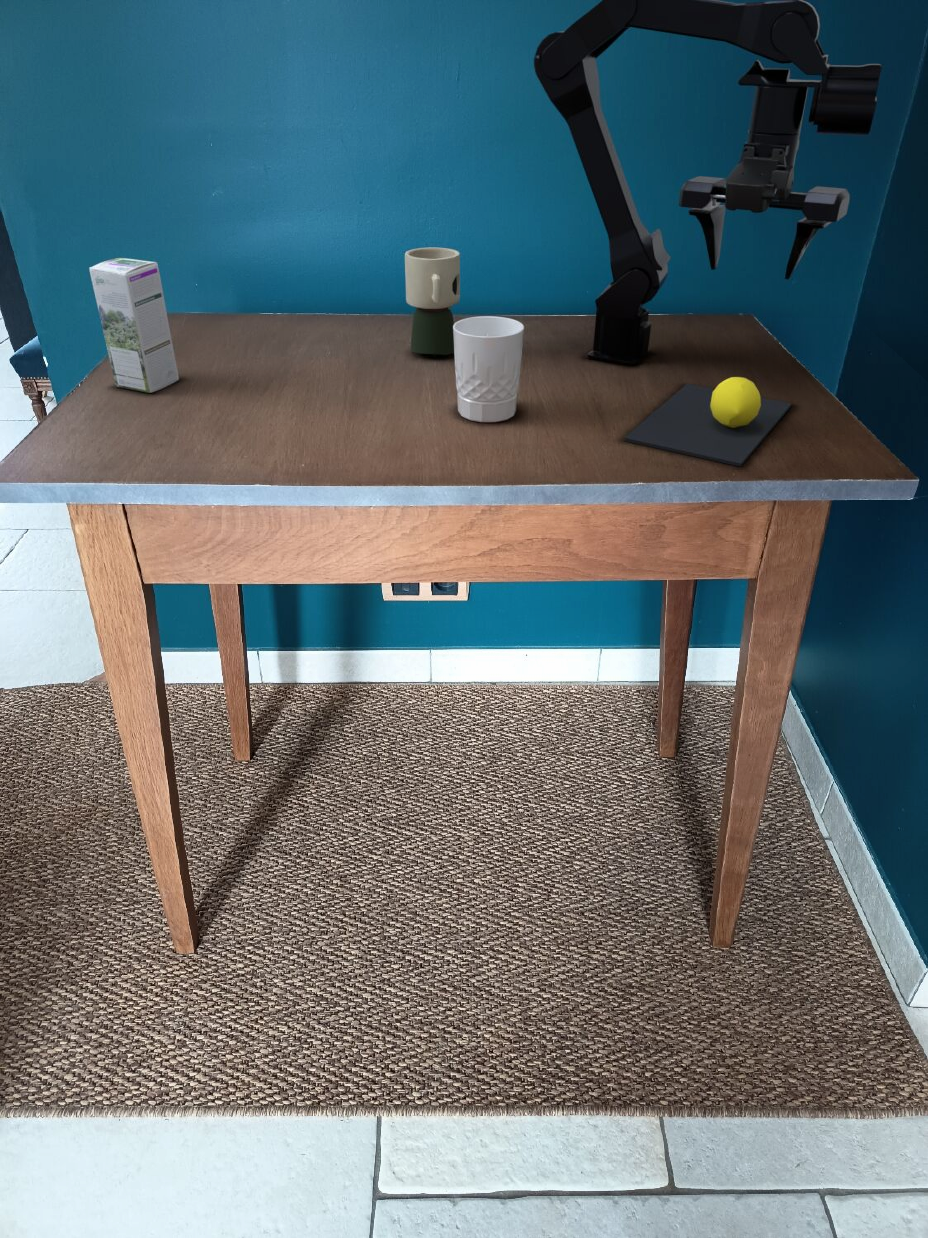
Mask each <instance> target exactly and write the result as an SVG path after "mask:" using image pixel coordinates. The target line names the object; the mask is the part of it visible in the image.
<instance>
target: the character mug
mask: <svg viewBox="0 0 928 1238" xmlns="http://www.w3.org/2000/svg"><path fill="white" fill-rule="evenodd" d="M460 255H461V254H460V252H459V251H458V250H456V249H453V248H445V247H433V246H432V247H431V246H429V247H418V248H413V249H410V250H407V251H405V253H404V272H405V273H404V274H405V301H406V304H408V305H409V306H411V307H414V308H415V310H414V312H413V316H412V325H411V332H410V333H411V336H410V351H412V352H413V353H415V354H424V355H425V354H426V355H432V356H433V357H437V356H438V355H443V356H447V355H450V354H454V336H453V325H454V324H455V321H454V314H453V312H452V310H451V307H452V306H455V305H457V304H459V302H460V298H461V256H460Z"/></svg>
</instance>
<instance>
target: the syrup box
mask: <svg viewBox="0 0 928 1238" xmlns="http://www.w3.org/2000/svg"><path fill="white" fill-rule="evenodd" d="M88 269H89V274H90V280H91V284H92V289H93V292H94V296H95V301H96V305H97V306H96V307H97V310H98V314H99V318H100V319H99V320H100V323H101V327H102V333H103V336H104V337H103V338H104V341H105V345H106V350H107V354H108V358H109V363H110V367H111V371H112V376H113V380H114V381H113V382H114V385H115V387H116V388H120V389H121V388H122V389H127V390H131V391H138V392H143V393H146V394H147V393H148V394H151V393H155V392H158V391H160V390H162V389H165V388H166V387H168V386H170V385H172V384H175V383H176V382H177V381H179V380H180V377H179V372H178V365H177V362H176V361H177V360H176V356H175V351H174V345H173V339H172V335H171V329H170V324H169V319H168V313H167V307H166V302H165V301H166V300H165V296H164V290H163V285H162V279H161V273H160V267H159V265H158V262H156V261H149V260H142V259H133V258H127V257H116V258H112V259H108V260H105V261H101V262H99V263H97V264H94V265H93V266H90V267H88Z"/></svg>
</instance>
